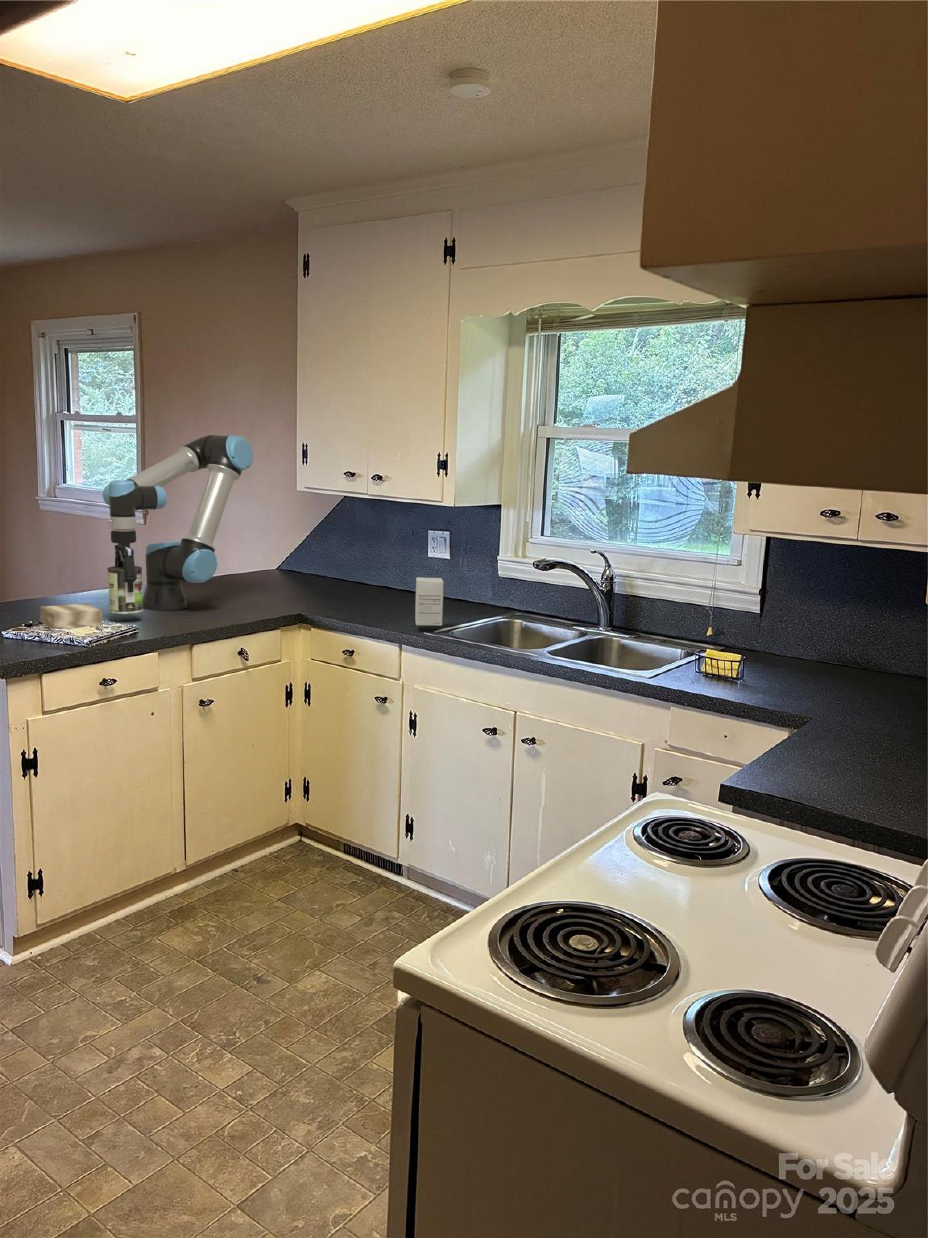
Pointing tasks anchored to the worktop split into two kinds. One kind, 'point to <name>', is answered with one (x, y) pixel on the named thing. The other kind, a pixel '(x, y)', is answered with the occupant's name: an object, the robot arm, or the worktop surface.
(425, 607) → the supplement box
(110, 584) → the coffee can
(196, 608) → the worktop surface
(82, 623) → the birch block
